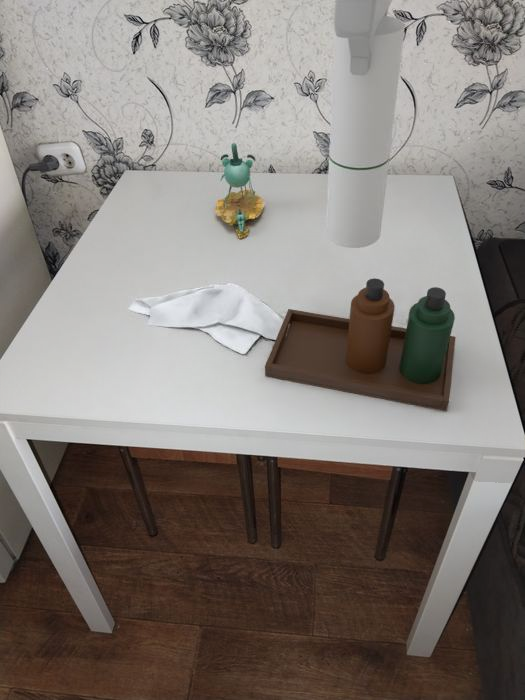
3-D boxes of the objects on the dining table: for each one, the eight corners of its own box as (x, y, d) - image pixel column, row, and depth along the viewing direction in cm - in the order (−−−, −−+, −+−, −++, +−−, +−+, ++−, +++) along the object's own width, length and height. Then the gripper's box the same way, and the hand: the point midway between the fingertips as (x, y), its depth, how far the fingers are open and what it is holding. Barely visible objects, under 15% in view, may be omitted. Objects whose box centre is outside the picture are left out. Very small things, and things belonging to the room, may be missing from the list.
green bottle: (442, 359, 83) (461, 282, 73) (439, 387, 79) (458, 310, 69) (402, 352, 84) (415, 275, 75) (396, 379, 80) (410, 303, 71)
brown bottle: (388, 349, 84) (400, 273, 75) (382, 377, 81) (394, 300, 71) (350, 342, 86) (357, 267, 76) (342, 369, 82) (348, 293, 73)
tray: (453, 346, 85) (455, 336, 84) (446, 411, 77) (449, 401, 75) (288, 318, 91) (288, 308, 89) (265, 376, 82) (264, 366, 81)
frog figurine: (202, 238, 108) (194, 158, 99) (225, 198, 122) (220, 124, 113) (253, 241, 106) (250, 160, 97) (271, 200, 120) (269, 126, 111)
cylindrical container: (379, 218, 80) (402, 14, 63) (381, 248, 75) (407, 35, 58) (326, 217, 81) (335, 15, 64) (325, 247, 76) (334, 35, 58)
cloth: (308, 308, 92) (307, 296, 90) (267, 366, 83) (266, 354, 82) (170, 267, 101) (167, 256, 100) (121, 316, 93) (117, 305, 91)
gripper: (399, -84, 46) (381, 98, 55) (427, -119, 59) (408, 31, 69) (319, -84, 47) (315, 93, 57) (364, -118, 61) (355, 28, 71)
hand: (366, 58), depth 63 cm, fingers closed on cylindrical container, 7 cm apart
